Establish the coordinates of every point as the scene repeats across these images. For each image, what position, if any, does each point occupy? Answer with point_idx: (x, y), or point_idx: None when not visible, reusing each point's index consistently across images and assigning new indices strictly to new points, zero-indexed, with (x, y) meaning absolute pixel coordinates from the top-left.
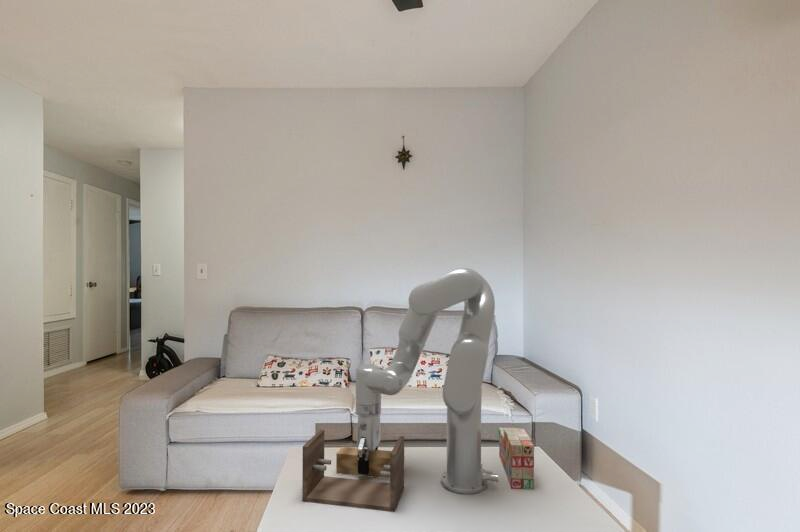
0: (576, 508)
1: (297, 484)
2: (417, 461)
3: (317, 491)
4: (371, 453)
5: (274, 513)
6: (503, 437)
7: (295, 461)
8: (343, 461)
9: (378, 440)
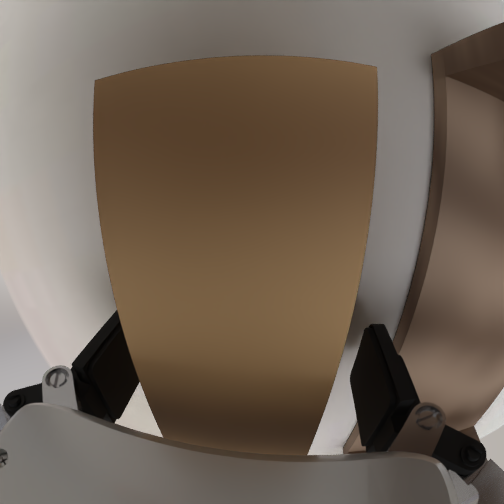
0: None
1: None
2: (52, 61)
3: (453, 424)
4: (242, 411)
5: (485, 433)
6: None
7: None
8: None
9: (124, 482)
